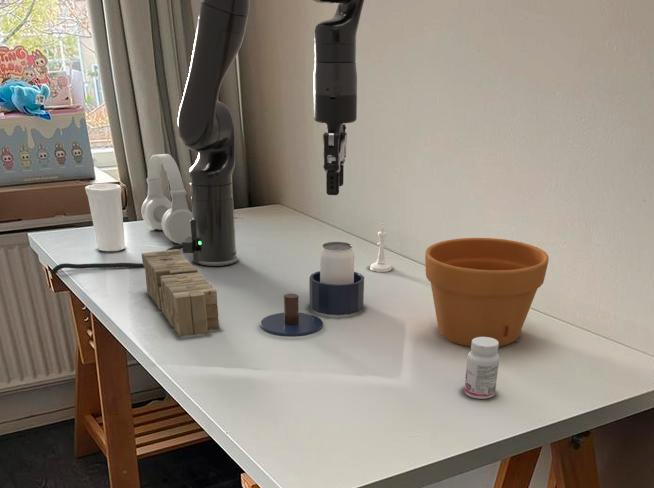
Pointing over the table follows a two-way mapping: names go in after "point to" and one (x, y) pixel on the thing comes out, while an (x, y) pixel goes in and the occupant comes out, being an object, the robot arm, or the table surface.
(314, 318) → the lid
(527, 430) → the table surface
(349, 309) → the pot
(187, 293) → the block tower
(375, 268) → the chess piece
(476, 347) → the pill bottle
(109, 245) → the cup
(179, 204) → the headphones
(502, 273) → the flower pot
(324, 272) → the can
